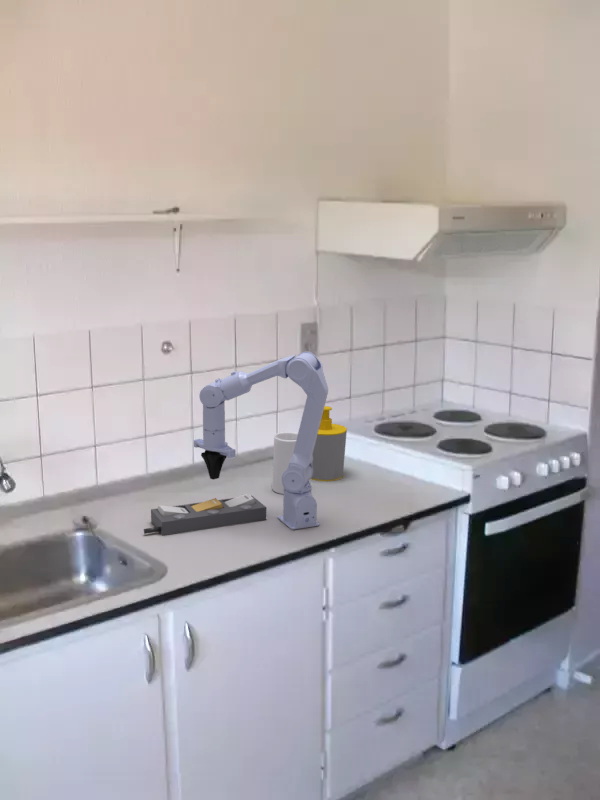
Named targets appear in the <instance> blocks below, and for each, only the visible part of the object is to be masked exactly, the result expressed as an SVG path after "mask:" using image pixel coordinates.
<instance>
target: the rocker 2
mask: <svg viewBox="0 0 600 800" xmlns="http://www.w3.org/2000/svg"><path fill="white" fill-rule="evenodd" d="M253 497H254V496H253ZM253 497H251V495H250V494H249V493H248V492H247V493H245V494H241V495H239V496H238V495H237V496H236V497H232V498H233V499H231V500H228V501H226V502H224V503H225V504H227V505H228V506H229V507H233V506H240V505H247V504H255V501H254V498H255V497H254V498H253Z"/></svg>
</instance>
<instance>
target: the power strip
mask: <svg viewBox="0 0 600 800" xmlns="http://www.w3.org/2000/svg"><path fill="white" fill-rule="evenodd" d="M250 496H251V497H253V498H254V501H255V504H247V505H240V506H233V507H229V506H228V505H227V504H225V503H224V502H226V501H228V500H231V499H233V498H234V497H231V498H225V499H217V500H218V501H220V502H221V503H222V506H223V508H219V509H211V510H205V511H198V512H196V511H195V510H194V509H193V508H192V507H191V506H193V505H196V504H199V503H202V502H203V501H201V502H194V503H187V504H182V505H181V504H180V505H179V504H178V505H173V506H172V505H171V507H181V508H185V509H186V510H187V511H188V512H189V513H184V514H176V515H170V516H162V515H161V514H160V513H159V512H158V507H157V508H152V509H150V522H151V524H152V525H153V526H154V527H148V528H143V533H144V535H145V534H153V533H159V534H161V536H167V535H168V536H169V535H174V534H181V533H183V534H184V533H188V532H195V531H202V530H208V529H215V528H221V527H228V526H233V525H235V526H236V525H242V524H247V523H254V522H261V521H267V506H266V505H265V504H263V503H262V502H261V501H259V499H257V498H255V496H253V495H250Z"/></svg>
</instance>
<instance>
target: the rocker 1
mask: <svg viewBox="0 0 600 800" xmlns="http://www.w3.org/2000/svg"><path fill="white" fill-rule="evenodd" d="M157 508H158V512H159V513H160V514H161V515H162V516H170V515H176V514H184V513H189V512H188V511H187V510H186V509H185V508H181V507H172V505H171V506H170V505H159V504H158V506H157Z"/></svg>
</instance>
